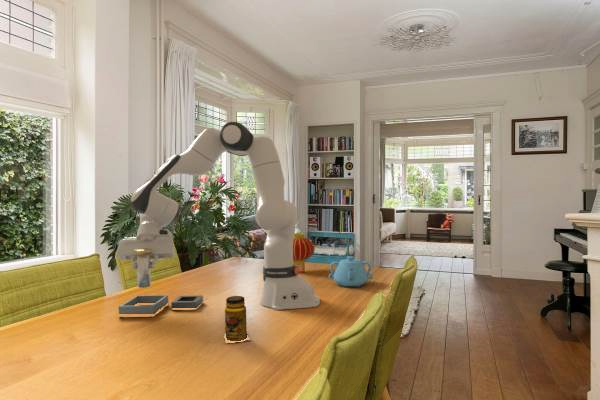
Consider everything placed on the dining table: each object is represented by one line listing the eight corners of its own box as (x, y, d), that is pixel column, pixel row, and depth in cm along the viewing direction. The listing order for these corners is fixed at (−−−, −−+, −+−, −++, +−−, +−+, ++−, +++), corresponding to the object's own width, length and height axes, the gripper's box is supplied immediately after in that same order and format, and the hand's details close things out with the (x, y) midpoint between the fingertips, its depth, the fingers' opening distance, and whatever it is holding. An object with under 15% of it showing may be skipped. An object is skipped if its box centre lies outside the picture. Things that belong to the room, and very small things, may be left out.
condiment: (225, 345, 108) (224, 302, 107) (222, 334, 116) (221, 294, 115) (251, 341, 110) (250, 299, 109) (246, 331, 118) (245, 292, 117)
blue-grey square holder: (203, 303, 149) (202, 295, 148) (196, 310, 140) (196, 302, 139) (179, 303, 149) (179, 295, 149) (171, 310, 140) (171, 302, 140)
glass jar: (155, 284, 142) (154, 248, 142) (148, 288, 136) (148, 250, 136) (139, 284, 142) (138, 248, 142) (132, 288, 136) (131, 251, 136)
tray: (168, 305, 146) (168, 295, 146) (153, 317, 132) (153, 306, 132) (137, 305, 147) (136, 295, 146) (119, 317, 133) (118, 306, 132)
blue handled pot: (371, 280, 181) (371, 253, 180) (375, 291, 161) (375, 261, 161) (329, 280, 183) (328, 253, 182) (328, 291, 163) (327, 261, 163)
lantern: (278, 270, 208) (277, 214, 207) (309, 267, 213) (308, 213, 212) (287, 276, 192) (285, 216, 191) (319, 274, 197) (318, 215, 196)
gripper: (118, 232, 144) (110, 263, 135) (175, 231, 147) (171, 261, 138) (122, 243, 149) (114, 273, 139) (177, 241, 152) (173, 271, 142)
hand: (143, 267), depth 138 cm, fingers closed on glass jar, 4 cm apart
